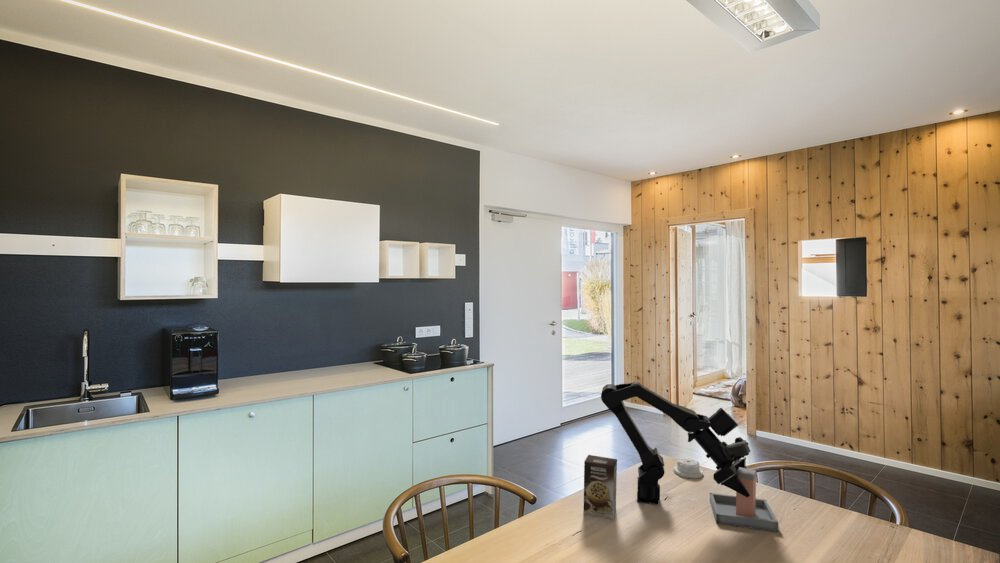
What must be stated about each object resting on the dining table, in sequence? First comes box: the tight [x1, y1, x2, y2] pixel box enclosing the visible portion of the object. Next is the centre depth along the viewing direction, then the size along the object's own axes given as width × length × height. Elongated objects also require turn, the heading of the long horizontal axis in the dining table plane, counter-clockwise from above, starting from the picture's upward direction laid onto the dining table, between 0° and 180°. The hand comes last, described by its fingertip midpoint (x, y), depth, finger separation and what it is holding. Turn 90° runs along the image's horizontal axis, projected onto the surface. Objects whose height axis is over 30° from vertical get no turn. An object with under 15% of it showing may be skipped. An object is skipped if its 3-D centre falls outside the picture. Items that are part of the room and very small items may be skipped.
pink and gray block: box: [735, 467, 757, 518], centre depth 143 cm, size 4×4×13 cm
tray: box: [709, 492, 779, 533], centre depth 144 cm, size 16×14×3 cm
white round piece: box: [673, 457, 704, 479], centre depth 175 cm, size 10×4×10 cm
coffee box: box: [582, 454, 618, 521], centre depth 146 cm, size 9×6×16 cm
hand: (751, 490), depth 143 cm, fingers open, 9 cm apart
